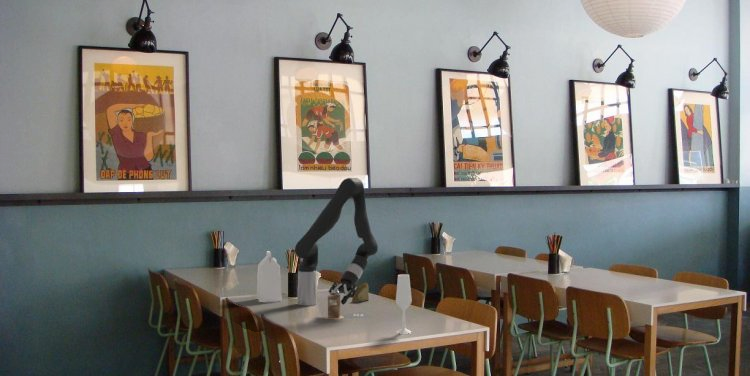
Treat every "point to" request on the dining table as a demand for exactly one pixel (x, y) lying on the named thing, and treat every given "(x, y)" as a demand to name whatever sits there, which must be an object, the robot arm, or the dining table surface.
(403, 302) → the champagne flute
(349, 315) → the blue-gray tile
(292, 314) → the dining table surface
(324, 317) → the coaster
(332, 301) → the walnut block
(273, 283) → the milk
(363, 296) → the rock
